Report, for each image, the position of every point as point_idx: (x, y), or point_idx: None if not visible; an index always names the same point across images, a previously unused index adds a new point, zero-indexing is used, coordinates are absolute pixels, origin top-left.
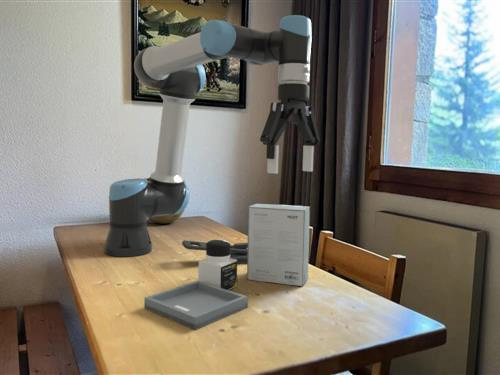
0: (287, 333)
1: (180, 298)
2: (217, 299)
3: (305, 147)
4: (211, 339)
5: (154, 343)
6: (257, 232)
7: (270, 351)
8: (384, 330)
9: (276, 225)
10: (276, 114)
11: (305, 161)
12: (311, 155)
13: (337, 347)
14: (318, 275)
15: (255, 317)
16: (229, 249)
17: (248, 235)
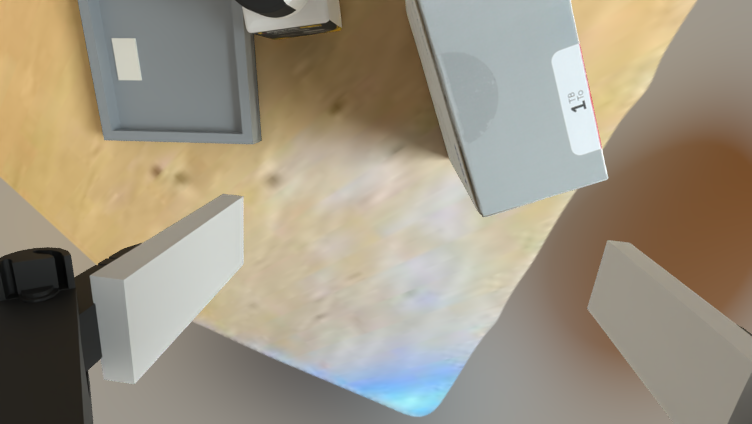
0: None
1: (164, 5)
2: (224, 77)
3: (727, 376)
4: (122, 181)
5: (42, 122)
6: (414, 21)
7: None
8: (349, 363)
9: (438, 97)
10: None
11: (636, 298)
12: (647, 387)
13: (247, 332)
14: None
15: (237, 182)
16: (282, 12)
17: None
